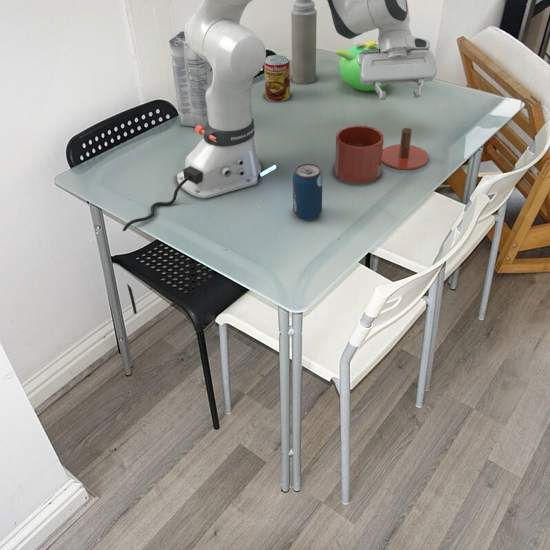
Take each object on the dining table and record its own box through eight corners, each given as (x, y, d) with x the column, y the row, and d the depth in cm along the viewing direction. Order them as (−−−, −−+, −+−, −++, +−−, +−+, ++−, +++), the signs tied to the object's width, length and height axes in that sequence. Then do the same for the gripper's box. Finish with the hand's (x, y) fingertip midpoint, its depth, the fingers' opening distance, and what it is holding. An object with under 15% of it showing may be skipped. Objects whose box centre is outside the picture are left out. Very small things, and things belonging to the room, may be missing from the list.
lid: (404, 177, 160) (407, 147, 155) (369, 158, 168) (371, 129, 163) (437, 161, 166) (442, 131, 160) (402, 143, 174) (405, 114, 168)
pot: (356, 190, 156) (358, 152, 150) (325, 171, 164) (326, 135, 157) (389, 174, 162) (393, 137, 155) (358, 156, 169) (360, 121, 162)
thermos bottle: (293, 74, 213) (292, -13, 195) (316, 74, 213) (317, -13, 194) (291, 83, 207) (289, -5, 189) (315, 84, 206) (316, -5, 188)
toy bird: (400, 84, 204) (405, 39, 195) (379, 104, 193) (383, 57, 184) (351, 74, 212) (353, 30, 202) (328, 92, 201) (329, 47, 192)
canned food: (262, 100, 198) (260, 63, 190) (269, 90, 204) (268, 53, 196) (286, 102, 196) (285, 65, 189) (292, 92, 202) (292, 55, 194)
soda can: (327, 212, 149) (329, 168, 141) (309, 225, 145) (309, 181, 138) (305, 202, 153) (305, 159, 145) (287, 214, 149) (286, 171, 141)
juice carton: (209, 131, 183) (199, 38, 166) (177, 126, 186) (164, 35, 168) (221, 118, 189) (213, 27, 172) (190, 113, 192) (178, 24, 175)
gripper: (359, 45, 164) (363, 96, 162) (435, 40, 164) (440, 91, 163) (355, 55, 170) (359, 104, 169) (429, 51, 171) (434, 100, 169)
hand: (400, 98), depth 166 cm, fingers open, 8 cm apart
